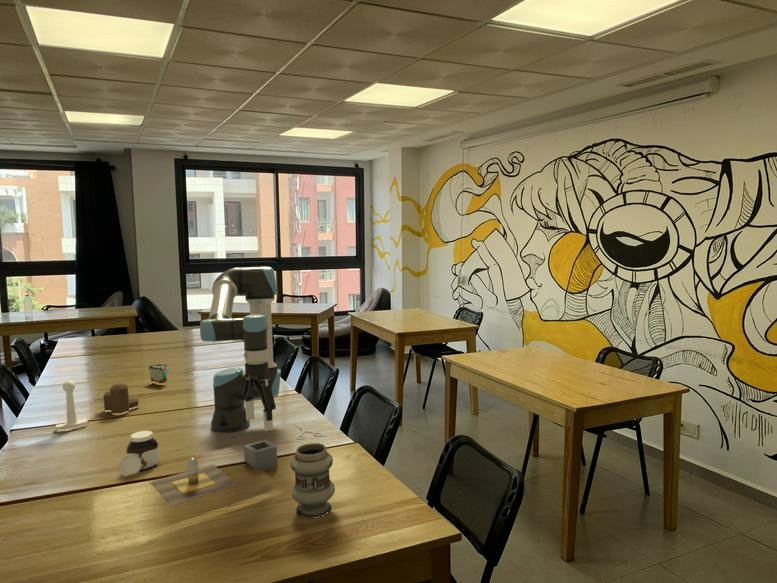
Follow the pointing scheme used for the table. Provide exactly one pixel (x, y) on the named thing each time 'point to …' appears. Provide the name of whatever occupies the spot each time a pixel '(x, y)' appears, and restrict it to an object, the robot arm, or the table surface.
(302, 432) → the scissors
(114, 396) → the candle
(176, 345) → the table surface
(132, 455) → the spread jar
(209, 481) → the base plate
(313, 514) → the apothecary jar
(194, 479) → the steel post
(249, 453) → the collar
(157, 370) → the food container
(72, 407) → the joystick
